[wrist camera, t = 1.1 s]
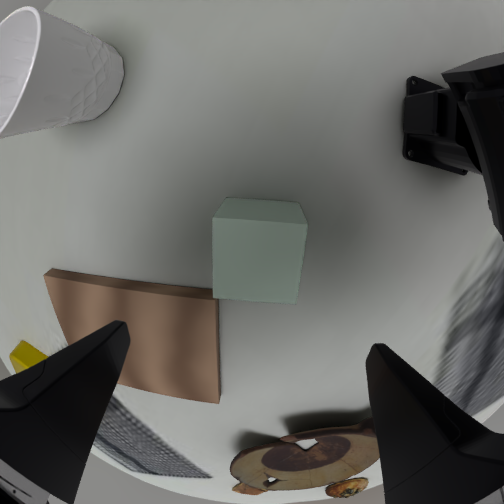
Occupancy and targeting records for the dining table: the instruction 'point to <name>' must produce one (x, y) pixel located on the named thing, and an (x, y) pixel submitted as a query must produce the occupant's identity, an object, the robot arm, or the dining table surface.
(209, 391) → the walnut board
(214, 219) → the sage cube
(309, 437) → the oil lamp
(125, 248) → the dining table surface
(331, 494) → the bread roll
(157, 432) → the dining table surface
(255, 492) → the shard
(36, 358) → the element tile
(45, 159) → the dining table surface
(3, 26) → the white cup
